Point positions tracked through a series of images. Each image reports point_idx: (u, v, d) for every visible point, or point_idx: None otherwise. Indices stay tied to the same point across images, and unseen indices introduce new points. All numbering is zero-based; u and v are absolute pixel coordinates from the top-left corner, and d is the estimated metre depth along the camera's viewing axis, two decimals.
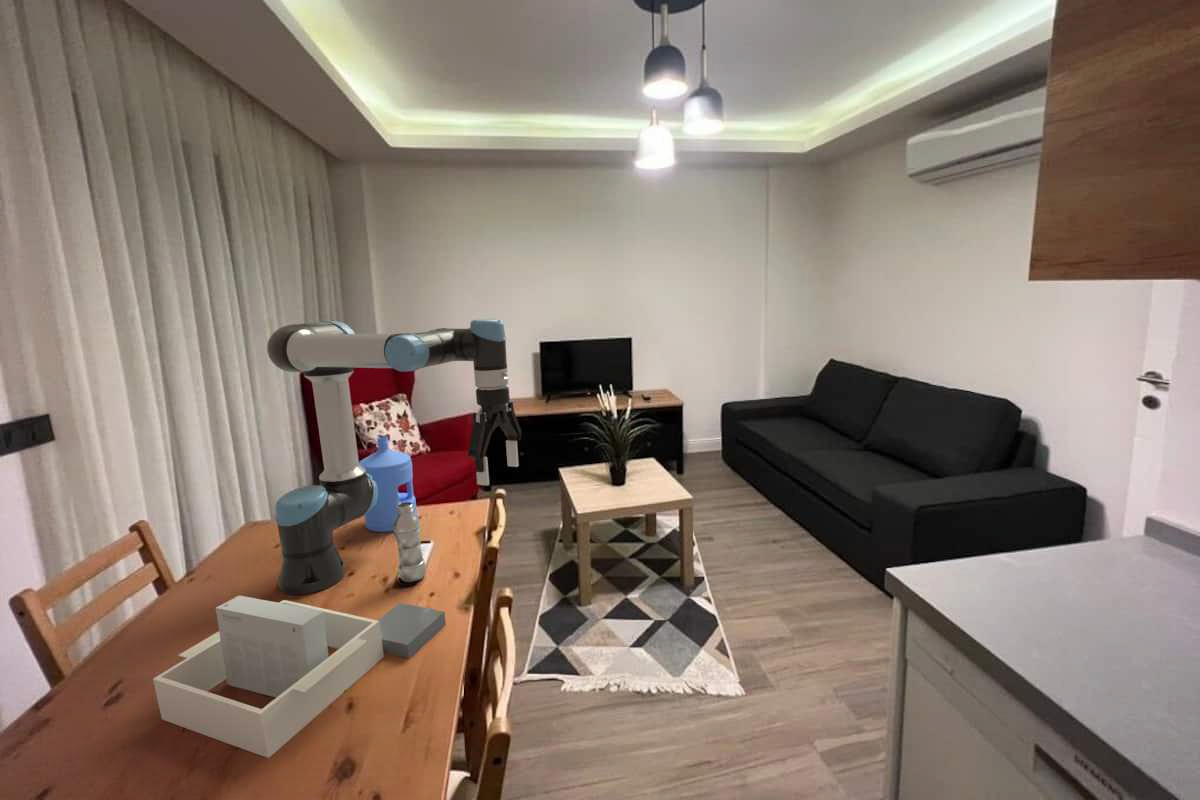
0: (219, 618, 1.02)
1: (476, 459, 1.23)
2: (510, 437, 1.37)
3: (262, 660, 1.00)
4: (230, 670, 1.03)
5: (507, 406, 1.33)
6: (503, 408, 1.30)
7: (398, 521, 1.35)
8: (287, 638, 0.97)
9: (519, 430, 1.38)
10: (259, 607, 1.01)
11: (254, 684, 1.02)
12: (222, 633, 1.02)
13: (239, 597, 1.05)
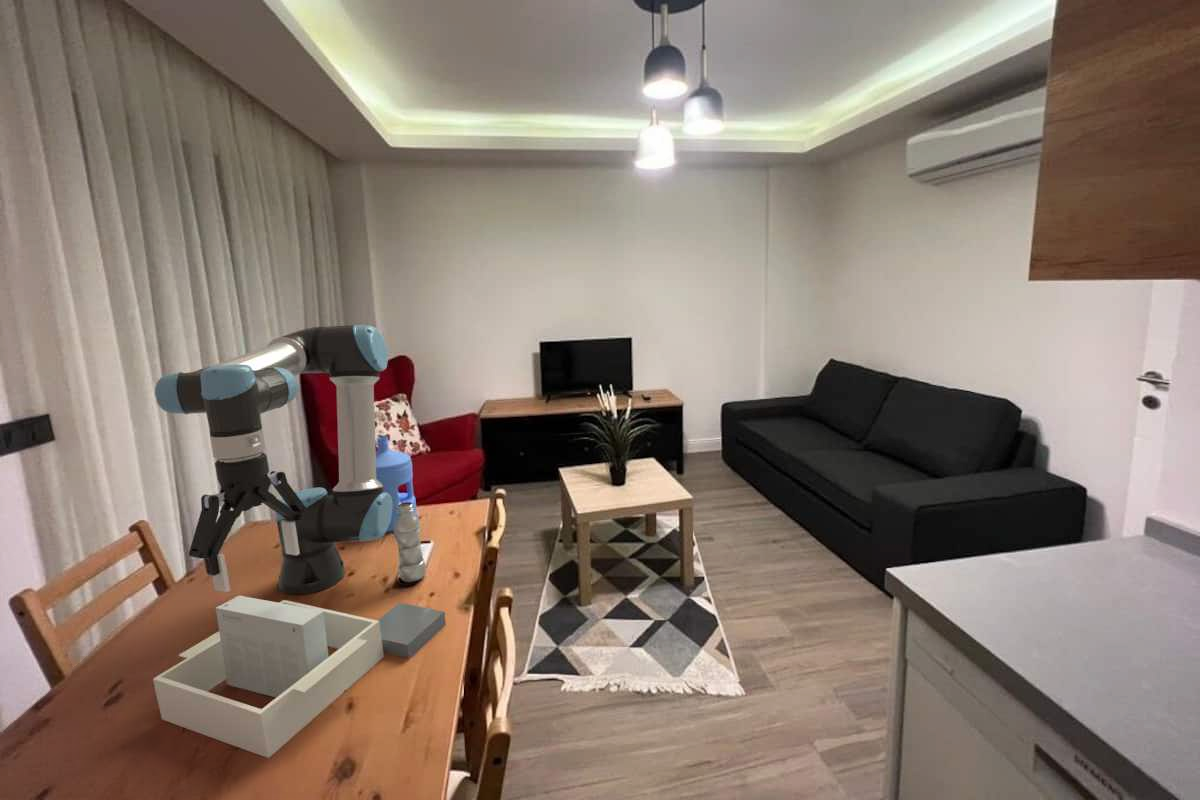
0: (219, 618, 1.02)
1: (205, 558, 0.90)
2: (287, 516, 1.04)
3: (262, 660, 1.00)
4: (230, 670, 1.03)
5: (275, 478, 1.00)
6: (263, 483, 0.97)
7: (398, 521, 1.35)
8: (287, 638, 0.97)
9: (301, 506, 1.05)
10: (259, 607, 1.01)
11: (254, 684, 1.02)
12: (222, 633, 1.02)
13: (239, 597, 1.05)
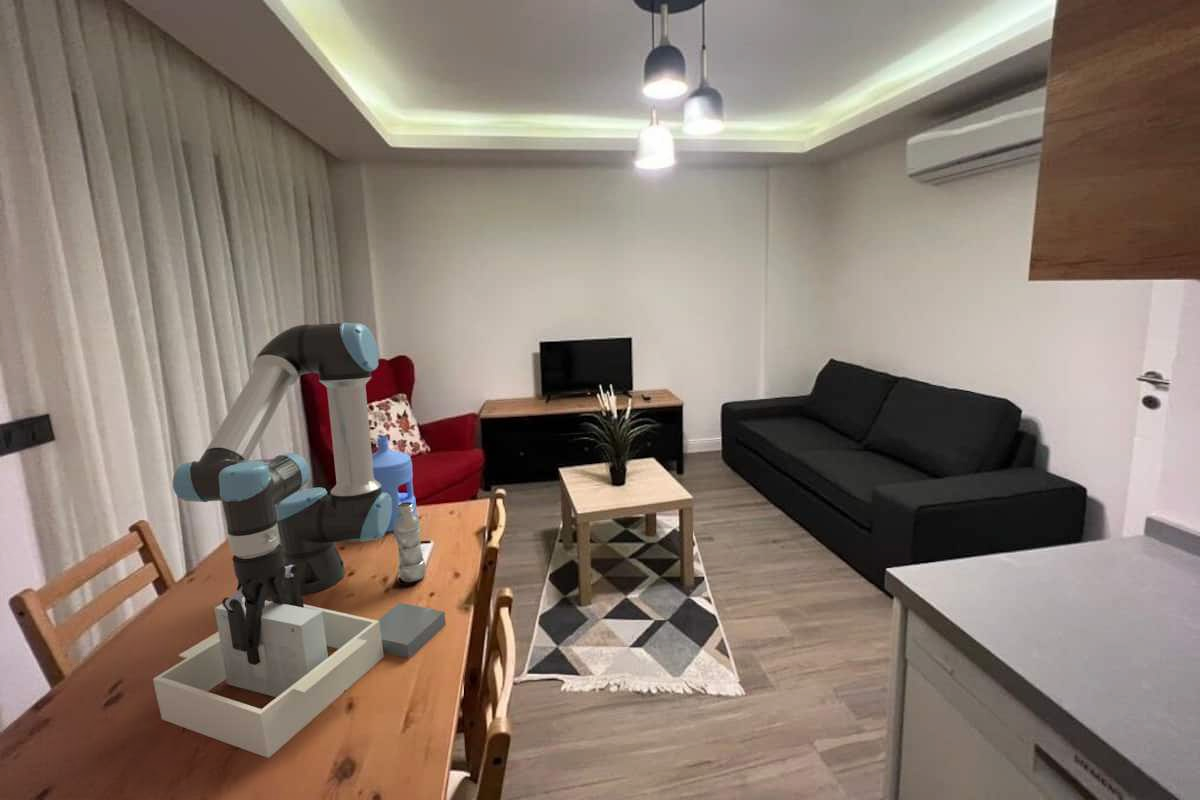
0: (218, 618, 1.02)
1: (247, 649, 0.97)
2: None
3: None
4: (230, 670, 1.03)
5: (289, 570, 1.04)
6: (278, 571, 1.01)
7: (398, 521, 1.35)
8: (286, 638, 0.97)
9: None
10: None
11: (254, 683, 1.01)
12: (221, 634, 1.02)
13: None
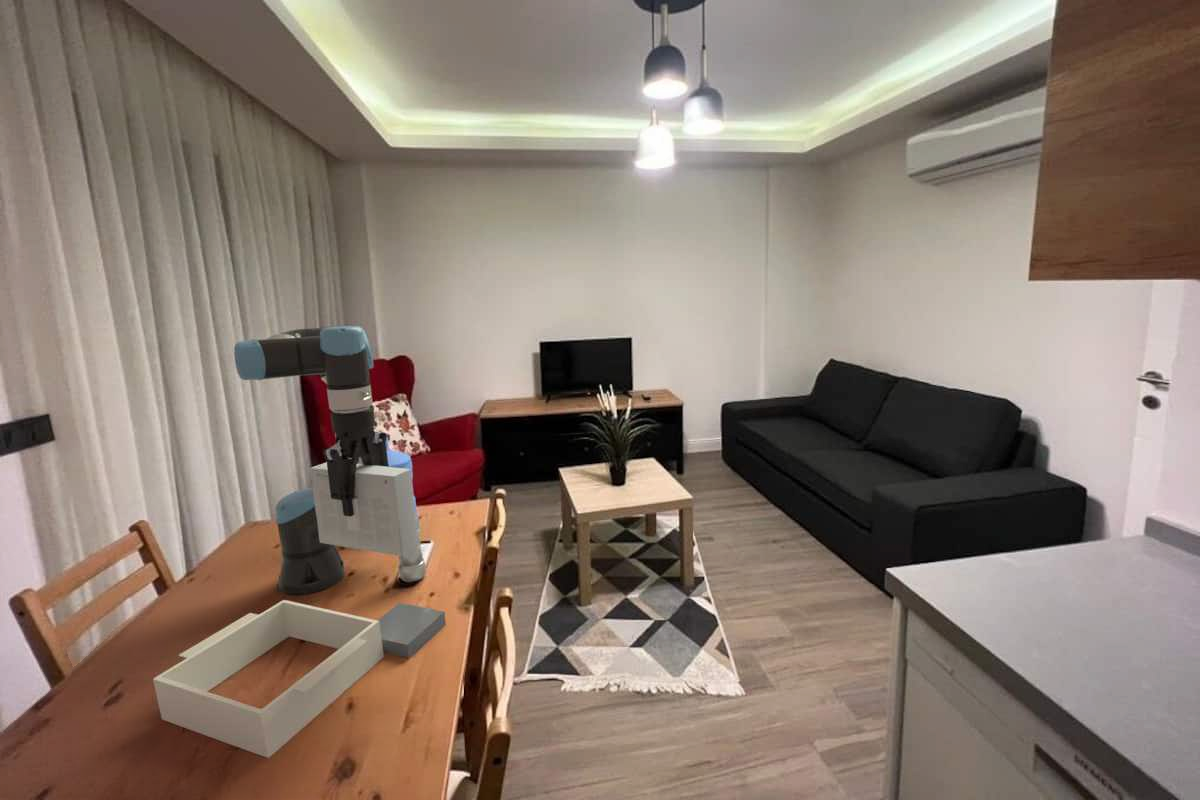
0: (313, 478, 1.09)
1: (343, 501, 1.04)
2: None
3: None
4: (323, 528, 1.10)
5: (378, 436, 1.11)
6: (369, 433, 1.08)
7: None
8: (379, 490, 1.03)
9: None
10: None
11: (346, 539, 1.08)
12: (315, 493, 1.09)
13: None
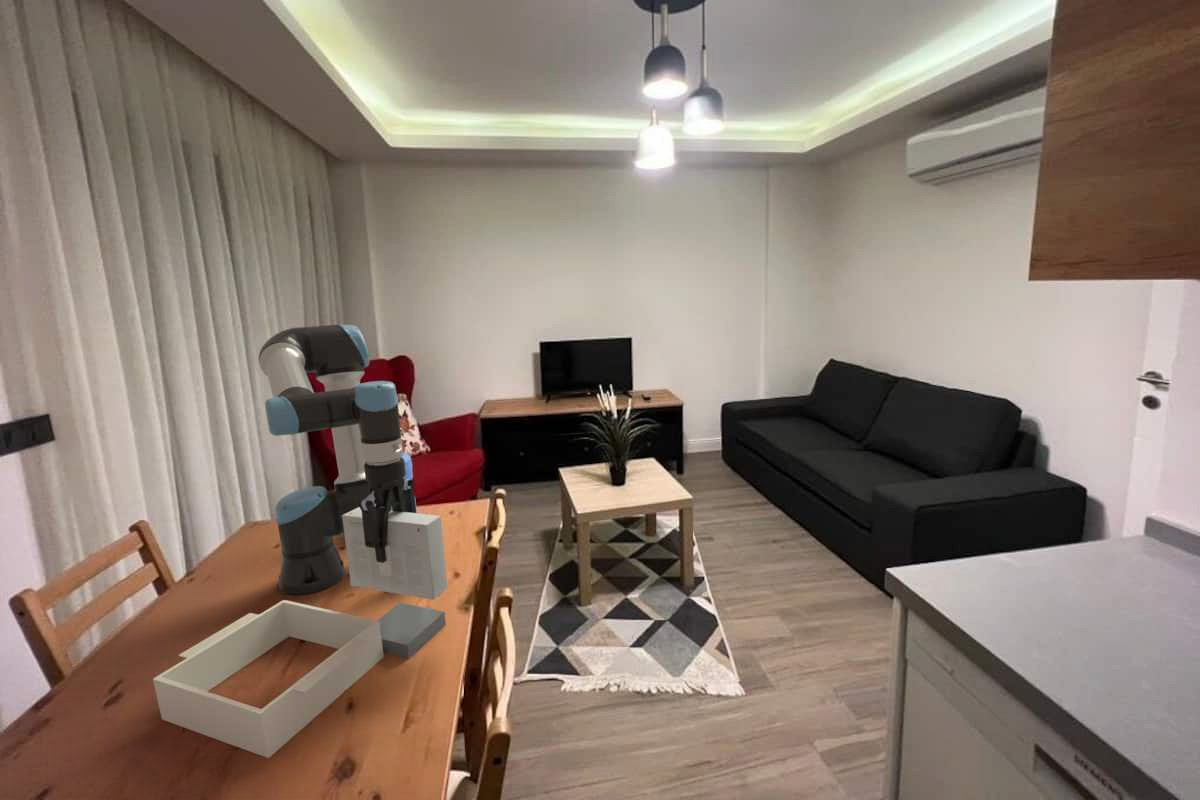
0: (345, 524, 1.14)
1: (376, 548, 1.09)
2: None
3: None
4: (354, 572, 1.15)
5: (406, 483, 1.16)
6: (400, 481, 1.13)
7: None
8: (412, 538, 1.08)
9: None
10: None
11: (378, 582, 1.13)
12: (347, 539, 1.14)
13: None
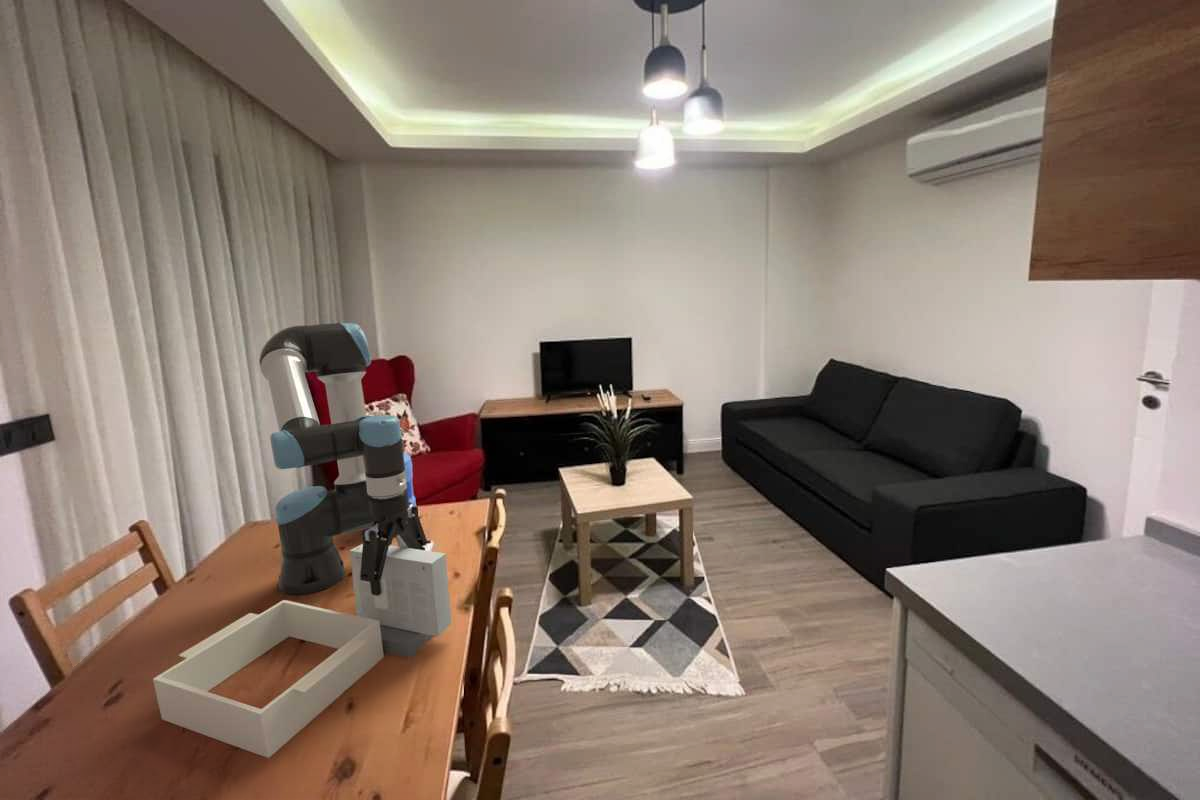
0: (352, 559, 1.16)
1: (371, 581, 1.08)
2: None
3: (392, 596, 1.14)
4: (361, 606, 1.17)
5: (410, 511, 1.17)
6: (403, 513, 1.14)
7: None
8: (417, 575, 1.10)
9: (424, 539, 1.21)
10: (388, 550, 1.15)
11: (383, 617, 1.15)
12: (354, 573, 1.17)
13: None
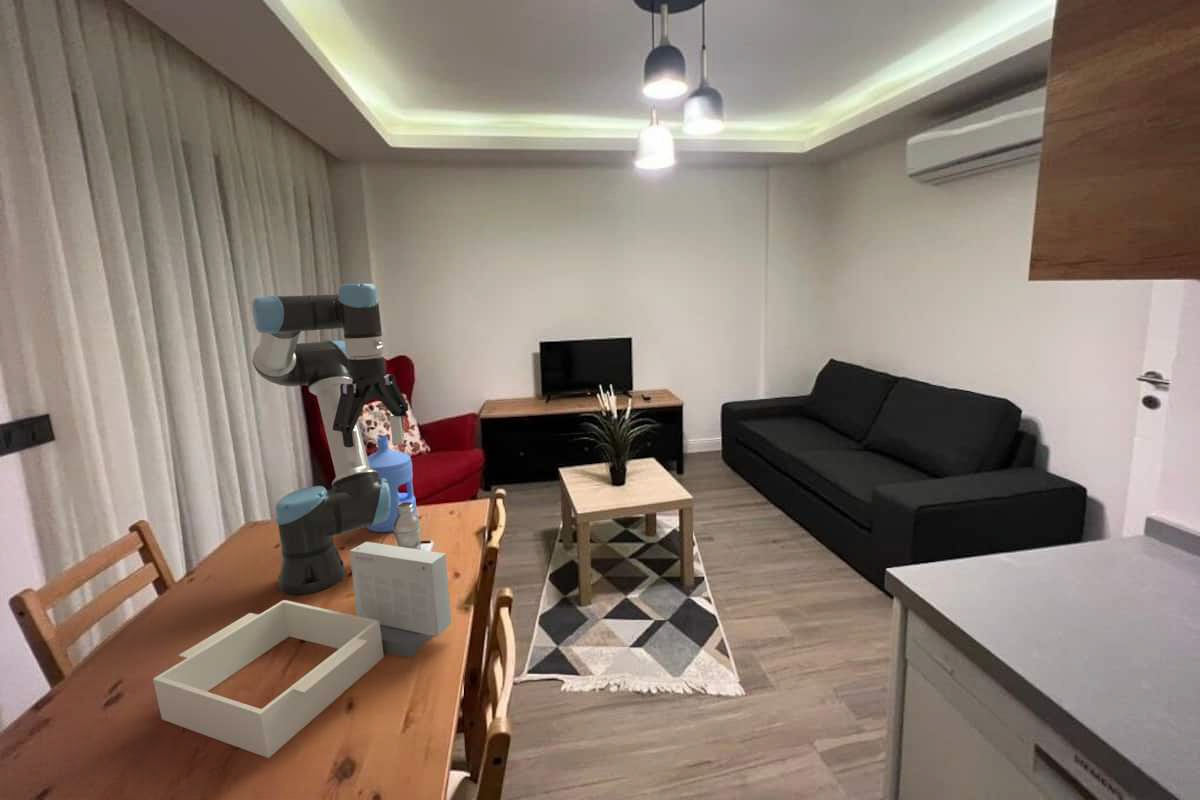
0: (352, 559, 1.16)
1: (343, 433, 1.14)
2: (394, 412, 1.29)
3: (392, 596, 1.14)
4: (361, 606, 1.17)
5: (388, 379, 1.25)
6: (381, 380, 1.22)
7: (398, 521, 1.35)
8: (417, 575, 1.10)
9: (405, 405, 1.29)
10: (388, 550, 1.15)
11: (383, 617, 1.15)
12: (354, 573, 1.17)
13: (367, 543, 1.19)
